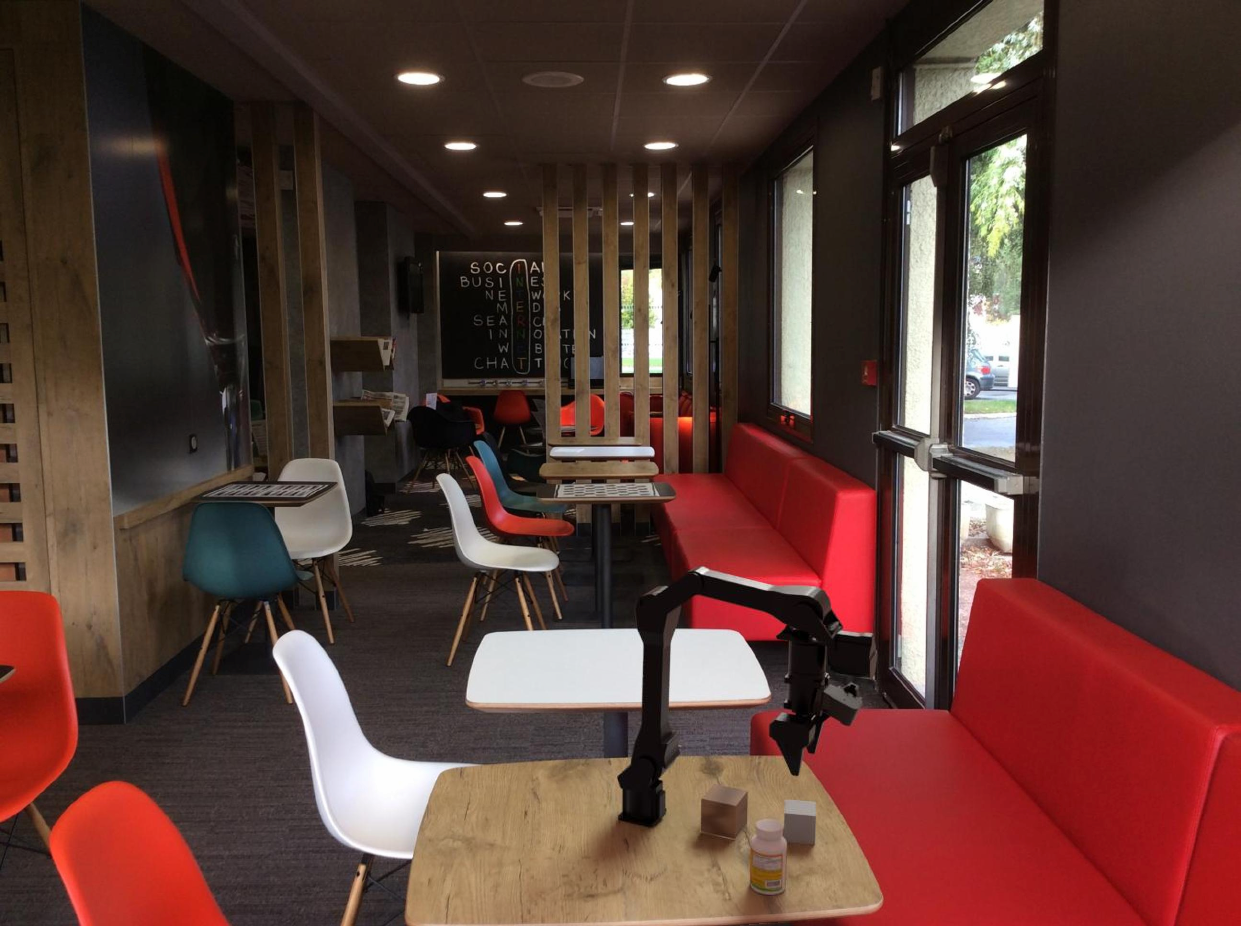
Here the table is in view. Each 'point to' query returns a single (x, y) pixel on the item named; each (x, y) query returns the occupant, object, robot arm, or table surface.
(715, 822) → the walnut cube
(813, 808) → the grey cube
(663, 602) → the robot arm
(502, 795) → the table surface
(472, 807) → the table surface
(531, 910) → the table surface
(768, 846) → the supplement bottle
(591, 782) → the table surface
